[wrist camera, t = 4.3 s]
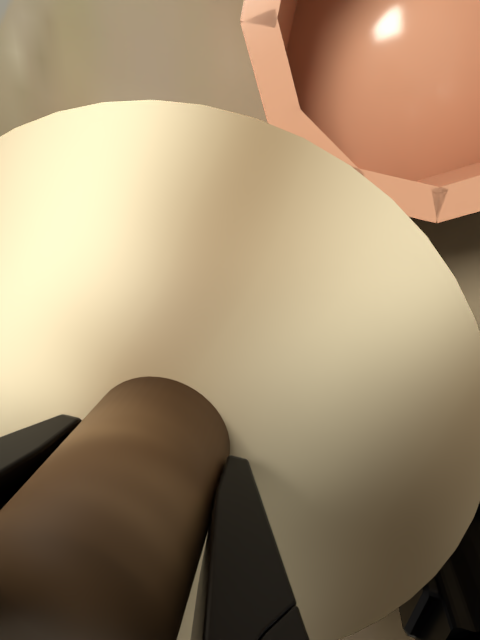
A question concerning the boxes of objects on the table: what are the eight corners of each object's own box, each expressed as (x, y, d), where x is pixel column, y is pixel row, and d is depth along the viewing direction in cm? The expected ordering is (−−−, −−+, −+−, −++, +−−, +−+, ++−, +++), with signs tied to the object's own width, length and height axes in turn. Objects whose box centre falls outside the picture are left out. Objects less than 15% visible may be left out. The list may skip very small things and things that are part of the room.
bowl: (654, -116, 14) (831, -264, 9) (504, 232, 18) (574, 255, 13) (308, -175, 14) (305, -338, 10) (238, 169, 18) (212, 170, 14)
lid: (591, 178, 7) (1066, 197, 3) (375, 673, 12) (415, 997, 7) (-108, 54, 9) (-616, -80, 4) (-62, 549, 13) (-269, 761, 8)
